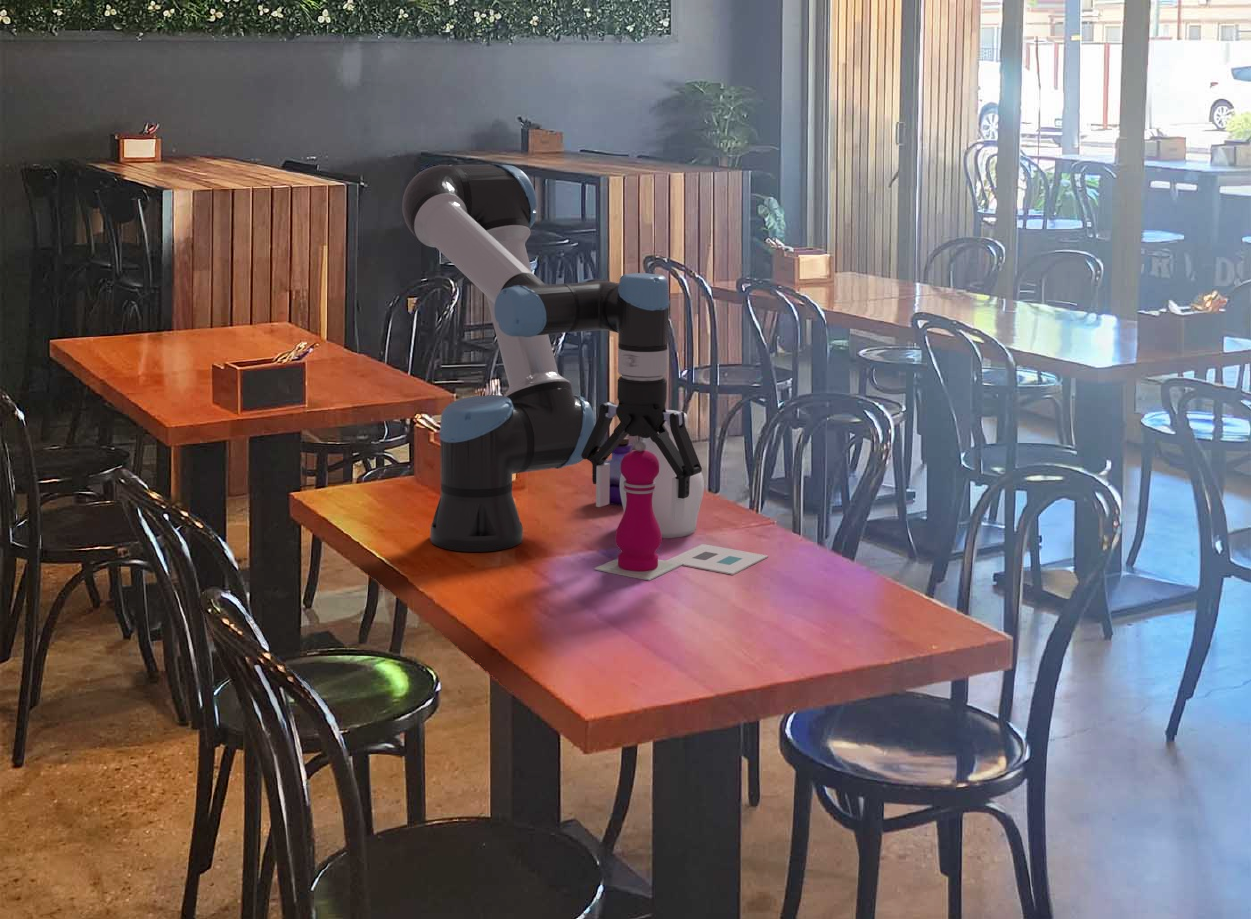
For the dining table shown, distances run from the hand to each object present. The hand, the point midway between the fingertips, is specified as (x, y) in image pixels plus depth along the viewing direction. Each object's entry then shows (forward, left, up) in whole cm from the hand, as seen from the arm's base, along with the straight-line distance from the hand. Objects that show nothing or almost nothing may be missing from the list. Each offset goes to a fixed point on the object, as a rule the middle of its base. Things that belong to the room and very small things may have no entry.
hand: (639, 511), depth 250 cm
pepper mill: (0, 0, -9) cm, 9 cm away
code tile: (+8, +11, -9) cm, 16 cm away
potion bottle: (-25, +34, -9) cm, 43 cm away
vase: (-9, +22, -9) cm, 26 cm away
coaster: (0, 0, -9) cm, 9 cm away
